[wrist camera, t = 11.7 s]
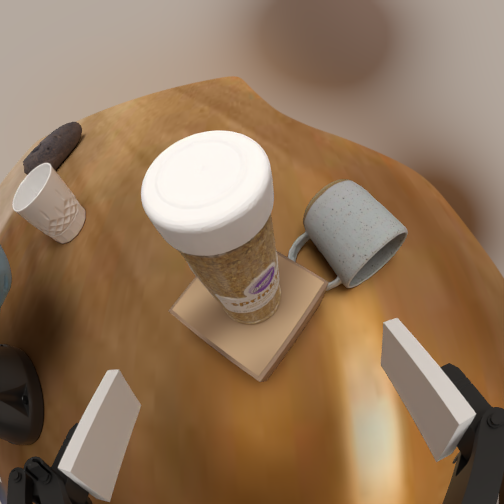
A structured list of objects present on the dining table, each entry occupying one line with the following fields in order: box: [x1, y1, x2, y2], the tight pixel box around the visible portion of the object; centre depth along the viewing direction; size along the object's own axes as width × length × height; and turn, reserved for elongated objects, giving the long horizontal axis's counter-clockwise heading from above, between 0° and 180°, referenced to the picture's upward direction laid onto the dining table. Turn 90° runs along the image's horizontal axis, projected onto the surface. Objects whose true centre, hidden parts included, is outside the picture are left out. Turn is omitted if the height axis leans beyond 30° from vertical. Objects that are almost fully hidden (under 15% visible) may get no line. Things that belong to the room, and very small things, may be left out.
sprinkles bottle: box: [141, 131, 281, 324], centre depth 15 cm, size 5×5×14 cm
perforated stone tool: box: [23, 122, 82, 175], centre depth 41 cm, size 15×5×7 cm, turn 147°
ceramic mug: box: [288, 179, 408, 290], centre depth 25 cm, size 11×8×8 cm
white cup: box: [13, 163, 86, 244], centre depth 31 cm, size 8×8×10 cm
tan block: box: [169, 251, 329, 382], centre depth 23 cm, size 9×9×6 cm
